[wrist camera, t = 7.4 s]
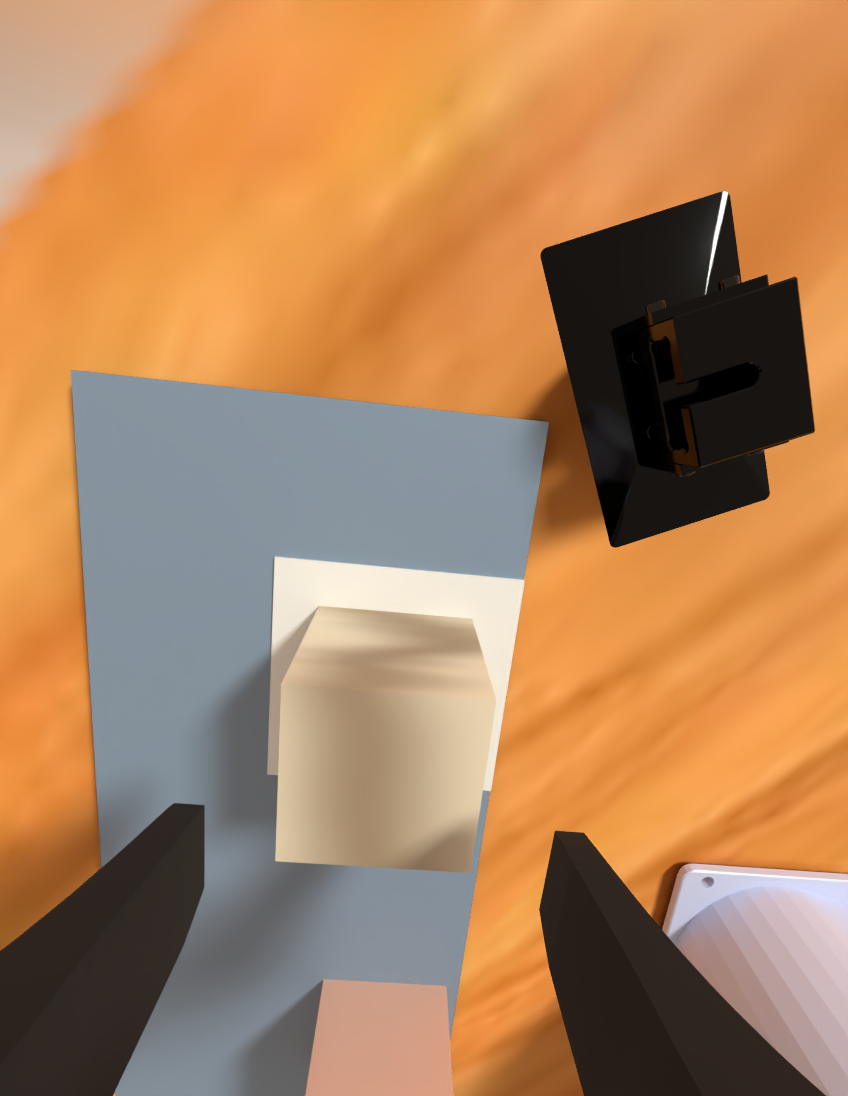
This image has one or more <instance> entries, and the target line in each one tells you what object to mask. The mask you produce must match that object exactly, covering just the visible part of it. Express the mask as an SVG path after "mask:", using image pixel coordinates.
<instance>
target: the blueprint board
mask: <svg viewBox="0 0 848 1096" xmlns="http://www.w3.org/2000/svg"><path fill="white" fill-rule="evenodd" d="M71 380H72V397H73V413H74V429H75V446H76V462H77V478H78V495H79V511H80V527H81V544H82V560H83V576H84V593H85V609H86V625H87V642H88V658H89V674H90V691H91V707H92V723H93V740H94V756H95V772H96V789H97V805H98V821H99V838H100V854H101V868H102V867H103V866H104V865H105V864H106V863H108V862H109V861H110V860H111V859H112V858H113V857H114V856H116V855H117V854H118V853H119V852H120V851H121V850H122V849H123V848H124V847H125V846H127V845H128V844H129V843H130V842H131V841H132V840H133V839H134V838H135V837H136V836H138V835H139V834H140V833H141V832H142V831H143V830H144V829H145V828H146V827H147V826H148V825H150V824H151V823H152V822H153V821H154V820H155V819H156V818H157V817H158V816H159V815H160V814H162V813H163V812H164V811H165V810H166V809H167V808H168V807H170V806H171V805H172V804H173V803H182V804H196V805H205V876H204V890H203V893H202V896H201V899H200V901H199V904H198V907H197V910H196V913H195V916H194V919H193V921H192V924H191V927H190V930H189V932H188V935H187V938H186V940H185V943H184V946H183V948H182V950H181V952H180V955H179V957H178V959H177V961H176V963H175V965H174V967H173V970H172V972H171V974H170V976H169V978H168V980H167V982H166V985H165V987H164V989H163V991H162V993H161V995H160V997H159V999H158V1002H157V1004H156V1006H155V1008H154V1010H153V1012H152V1014H151V1016H150V1018H149V1021H148V1023H147V1025H146V1027H145V1029H144V1031H143V1033H142V1035H141V1037H140V1040H139V1042H138V1044H137V1046H136V1048H135V1050H134V1052H133V1054H132V1056H131V1059H130V1061H129V1063H128V1065H127V1067H126V1069H125V1071H124V1073H123V1075H122V1078H121V1080H120V1082H119V1084H118V1086H117V1088H116V1090H115V1096H305V1094H306V1088H307V1081H308V1075H309V1068H310V1062H311V1056H312V1049H313V1043H314V1037H315V1030H316V1024H317V1017H318V1011H319V1005H320V998H321V992H322V985H323V979H329V980H347V981H366V982H384V983H402V984H421V985H439V986H447V1001H448V1017H449V1033H450V1038H451V1032H452V1026H453V1019H454V1013H455V1007H456V1001H457V994H458V988H459V982H460V976H461V969H462V963H463V957H464V951H465V944H466V938H467V932H468V926H469V919H470V913H471V907H472V901H473V895H474V888H475V882H476V876H477V870H478V863H479V857H480V851H481V845H482V838H483V832H484V826H485V820H486V813H487V807H488V801H489V795H490V791H491V787H492V781H493V774H494V768H495V762H496V756H497V749H498V743H499V737H500V731H501V725H502V718H503V712H504V706H505V700H506V693H507V687H508V681H509V675H510V668H511V662H512V656H513V650H514V644H515V637H516V631H517V625H518V619H519V612H520V606H521V600H522V594H523V588H524V576H525V570H526V564H527V558H528V551H529V545H530V539H531V533H532V526H533V520H534V514H535V508H536V501H537V495H538V489H539V483H540V476H541V470H542V464H543V458H544V452H545V445H546V439H547V433H548V427H549V422H544V421H535V420H526V419H516V418H507V417H498V416H489V415H480V414H471V413H461V412H452V411H443V410H434V409H425V408H416V407H406V406H397V405H388V404H379V403H370V402H361V401H351V400H342V399H333V398H324V397H315V396H306V395H296V394H287V393H278V392H269V391H260V390H250V389H241V388H232V387H223V386H214V385H205V384H195V383H186V382H177V381H168V380H159V379H150V378H140V377H131V376H122V375H113V374H104V373H95V372H85V371H76V370H71ZM319 606H327V607H339V608H351V609H363V610H375V611H387V612H399V613H411V614H423V615H435V616H447V617H459V618H471V619H472V620H473V623H474V627H475V630H476V633H477V637H478V640H479V643H480V647H481V650H482V654H483V657H484V660H485V664H486V667H487V670H488V674H489V677H490V680H491V684H492V687H493V691H494V694H495V697H496V706H495V713H494V720H493V726H492V733H491V740H490V746H489V753H488V760H487V767H486V773H485V780H484V787H483V793H482V800H481V807H480V814H479V820H478V827H477V834H476V841H475V847H474V854H473V861H472V867H471V873H463V872H446V871H429V870H413V869H396V868H380V867H363V866H347V865H330V864H313V863H297V862H280V861H275V854H276V824H277V794H278V763H279V733H280V703H281V683H282V681H283V679H284V677H285V675H286V673H287V671H288V669H289V667H290V665H291V663H292V660H293V658H294V656H295V654H296V652H297V650H298V648H299V646H300V644H301V642H302V640H303V638H304V636H305V634H306V632H307V630H308V628H309V626H310V623H311V621H312V619H313V617H314V615H315V613H316V611H317V609H318V607H319Z"/></svg>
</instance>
